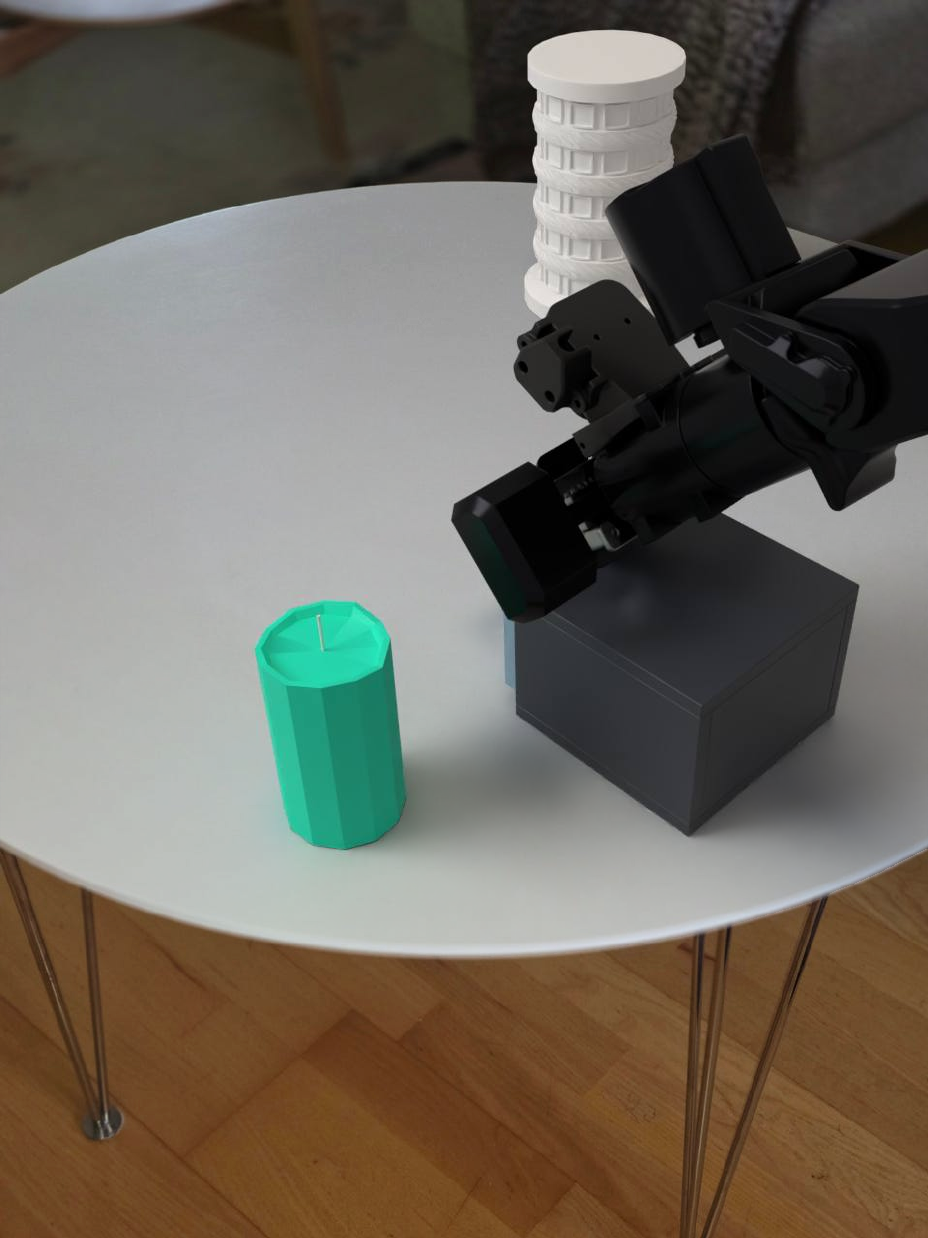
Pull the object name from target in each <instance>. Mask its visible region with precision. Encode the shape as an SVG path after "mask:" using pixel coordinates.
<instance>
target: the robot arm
mask: <svg viewBox="0 0 928 1238" xmlns="http://www.w3.org/2000/svg"><path fill="white" fill-rule="evenodd" d="M604 212H605V215H606V217H607V219H608V221H609V223H610V226H611V228H612V230H613V232H614V234H615V236H616V238H617V240H618V242H619V244H620V246H621V248H622V250H623V252H624V254H625V256H626V258H627V261H628V263H629V265H630V267H631V269H632V271H633V273H634V275H635V277H636V279H637V281H638V283H639V285H640V287H641V289H642V291H643V293H644V296H645V298H646V300H647V302H648V304H649V306H650V308H651V310H652V312H653V314H654V316H655V317H654V316H653V315H652V314H651V313H650V312H649V311H648V310H647V308H646V307H645V306H644V305H643V304H642V303H641V302H640V301H639V300H638V299H637V298H636V297H635V296H634V295H633V294H632V292H631V291H630V290H629V289H628V288H627V287H626V286H624V285H623V284H621V283H619V282H617V281H615V280H610V279H604V280H600V281H598V282H596V283H594V284H592V285H590V286H588V287H586V288H584V289H582V290H580V291H578V292H576V293H574V294H572V295H570V296H568V297H566V298H564V299H562V300H560V301H558V302H556V303H555V304H553V305H552V306H551V307H550V309H549V311H548V313H547V315H546V317H545V318H543V319H541V318H540V319H539V320H537V321H535V322H534V324H533V326H532V328H531V329H530V330H528V331H526V332H524V333H522V334H520V335H518V337H517V338H516V345H517V348H518V351H519V353H518V354H517V357H516V359H515V360H514V362H513V373H514V377H515V380H516V381H517V382H518V383H519V384H520V385H521V387H522V388H523V389H524V390H525V391H526V392H527V394H529V396H530V397H531V398H532V399H533V400H534V401H535V403H536V404H537V405H538V406H539V407H540V408H541V409H542V410H543V411H545V412H546V413H552V414H554V413H556V412H558V411H560V410H561V409H564V408H567V409H571V411H572V412H573V413H574V414H575V415H577V416H578V417H580V419H583V420H586V421H587V422H588V424H587V425H585V426H583V427H582V428H580V429H578V430H576V431H575V432H573V433H571V436H572V437H571V438H569V439H567V440H565V441H564V442H562V443H560V444H559V445H557V446H555V447H553V448H552V449H550V450H547V452H544V453H543V454H542V455H540V456H539V457H538V459H537V461H536V463H535V464H534V463H533V462H531V461H529V460H527V461H526V462H524V463H522V464H520V465H519V466H517V467H515V468H514V469H512V470H510V471H509V472H507V473H505V474H503V475H501V476H500V477H498V478H496V479H494V480H492V481H491V482H489V483H488V484H486V485H484V486H482V487H480V488H479V489H477V490H475V491H474V492H472V493H470V494H469V495H467V496H465V497H462V498H461V499H460V500H458V501H456V502H455V503H453V506H452V511H451V512H452V513H451V518H450V522H451V523H452V525H453V526H454V529H455V530H456V532H457V534H458V535H459V537H460V539H461V540H462V542H463V544H464V546H465V548H466V549H467V551H468V553H469V554H470V556H471V558H472V560H473V561H474V564H475V565H476V567H477V569H478V571H479V572H480V574H481V577H483V579H484V581H485V583H486V584H487V586H488V588H489V590H490V591H491V593H492V595H493V597H494V598H495V600H496V602H497V603H498V606H499V607H500V608H501V611H502V613H503V612H504V614H505V616H506V618H507V619H508V620H510V621H513V622H516V623H520V624H526V623H528V622H531V621H534V620H537V619H539V618H542V617H544V616H546V615H547V614H549V613H551V612H552V611H554V610H555V609H557V608H558V607H560V606H561V605H563V604H564V603H566V602H567V601H569V600H570V599H572V598H573V597H575V596H576V595H578V594H579V593H581V592H582V591H584V590H585V589H587V588H588V587H590V586H591V585H593V584H594V583H596V580H597V569H600V568H604V567H605V566H607V565H608V564H610V563H612V562H613V561H615V560H616V559H618V558H619V557H621V556H622V555H624V554H625V553H627V552H628V551H630V550H631V549H633V548H634V547H636V543H635V541H634V539H635V538H636V537H638V536H639V538H640V540H641V542H642V544H643V545H647V544H649V543H652V542H654V541H657V540H658V539H660V538H661V537H663V536H664V535H666V534H667V533H669V532H670V531H672V530H673V529H675V528H676V527H678V526H679V525H681V524H682V523H684V522H685V521H686V520H688V519H691V518H693V517H696V518H697V520H698V522H699V523H702V522H704V521H706V520H709V519H711V518H714V517H715V516H717V515H718V514H720V513H723V512H724V511H726V510H727V509H729V508H730V507H732V506H734V505H735V504H736V503H738V502H740V501H741V500H742V499H744V498H745V497H747V496H750V495H752V494H754V493H756V492H759V491H762V489H766V488H768V487H771V486H772V485H775V484H778V483H780V482H783V481H786V480H788V479H790V478H792V477H795V476H797V475H800V474H802V473H805V472H808V471H810V470H811V472H812V474H813V476H814V479H815V481H816V482H817V485H818V487H819V489H820V491H821V493H822V495H823V497H824V499H825V502H826V503H827V506H828V508H829V509H831V510H832V511H834V512H841V511H844V510H845V509H847V508H849V507H850V506H852V505H853V504H855V503H857V502H858V501H860V500H862V499H864V498H865V497H867V496H869V495H871V494H872V493H874V492H875V491H877V490H879V489H881V488H883V487H884V486H886V485H888V484H890V483H891V482H893V480H894V479H895V476H896V467H897V455H896V450H897V447H898V446H899V444H903V443H906V442H910V441H912V440H915V439H919V438H922V437H925V436H928V248H926V249H923V250H921V251H919V252H917V253H915V254H913V255H908V254H904V253H900V252H898V251H893V250H890V249H886V248H882V247H879V246H875V245H872V244H868V243H864V242H860V241H857V240H853V239H847V240H845V241H842V242H840V243H838V244H835V245H833V246H830V247H828V248H826V249H824V250H822V251H820V252H817V253H815V254H813V255H810V256H809V257H806V258H804V259H802V257H801V254H800V253H799V250H798V248H797V246H796V244H795V241H794V240H793V238H792V236H791V234H790V231H789V230H788V227H787V225H786V223H785V221H784V219H783V217H782V214H781V213H780V211H779V208H778V207H777V204H776V202H775V200H774V198H773V196H772V194H771V192H770V190H769V187H768V185H767V182H766V181H765V177H764V172H763V170H762V165H761V163H760V160H759V158H758V156H757V154H756V152H755V149H754V147H753V145H752V143H751V141H750V138H749V137H748V135H746V134H745V133H742V132H741V133H738V134H736V135H733V136H730V137H727V138H724V139H722V140H720V141H717V142H713V143H711V144H709V145H706V146H705V147H704V148H703V149H701V150H700V151H699V152H698V153H696V154H695V155H694V156H692V157H691V158H689V159H687V160H685V161H683V162H681V163H679V164H677V165H675V166H673V168H671V169H669V170H668V171H666V172H664V173H662V174H661V175H659V176H657V177H655V178H654V179H652V180H650V181H649V182H646V183H643V184H641V185H638V186H636V187H633V188H630V189H628V190H626V191H625V192H623V193H622V194H620V195H619V196H618V197H617V198H615V199H614V200H613V201H612V202H611V203H610V204H609V205H608V206H607V208H606V209H605V211H604ZM691 336H692V339H693V341H694V343H695V345H696V347H697V349H702V348H705V347H707V346H710V345H712V344H714V343H716V342H718V341H720V343H721V344H722V346H723V347H722V348H721V349H720V350H717V351H716V352H713V353H712V354H709V355H708V356H706V357H704V358H702V359H700V360H698V361H697V362H695V363H693V364H692V365H690V364H689V362H688V361H687V360H686V358H685V357H684V356H683V355H682V353H681V352H680V350H679V349H678V348H677V347H676V344H678V343H680V342H682V341H685V340H686V339H688V338H690V337H691ZM683 521H684V522H683ZM681 522H682V523H681Z"/></svg>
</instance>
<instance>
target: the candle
mask: <svg viewBox="0 0 928 1238" xmlns="http://www.w3.org/2000/svg"><path fill="white" fill-rule="evenodd" d="M253 650H254V654H255V659H256V665H257V670H258V671H257V672H258V676H259V682H260V686H261V692H262V697H263V702H264V708H265V713H266V714H265V715H266V719H267V724H268V729H269V730H268V731H269V735H270V740H271V745H272V750H273V756H274V761H275V766H276V772H277V778H278V783H279V787H280V793H281V799H282V804H283V808H284V811H285V814H286V815H285V816H286V819H287V821H288V824H289V828H290V830H291V831H292V832H294V833H295V834H296V835H298V836H300V837H301V838H302V839H304V840H305V841H306V842H308V843H309V844H310V845H312V846H315V847H323V848H331V849H338V850H348V849H353V848H356V847H358V846H363V845H366V844H369V843H372V842H377V841H378V840H379V839H380V838H382V837H383V836H385V834H386V833H387V832H389V831H390V830H391V829H392V828H393V827H394V826H396V825H397V823H399V822H400V818H401V816H402V813H403V809H404V807H405V803H406V800H407V792H406V781H405V771H404V761H403V759H404V758H403V751H402V740H401V730H400V721H399V711H398V710H399V709H398V699H397V690H396V679H395V669H394V658H393V649H392V640H391V636H390V634H389V633H388V631H387V629H386V627H385V625H384V624H383V621H382V620H381V619H379V618H378V617H377V616H375V615H374V614H373V613H371V612H370V611H369V610H368V609H367V608H366V607H364V606H363V605H362V604H360V603H359V602H357V601H351V600H349V601H348V600H331V599H330V600H327V599H323V600H319V601H315V602H312V603H311V602H310V603H308V604H303V605H300V606H296V607H292V608H289V609H288V610H287V611H286V612H285V613H283V614H282V615H281V616H279V617H278V618H277V619H276V620H274V621H273V622H272V623H270V624H269V625H268V626H266V627H265V628H264V631H263V632H262V634H261V636H260V638H259V640H258V641H257V643H256V645H255V647H254V649H253Z"/></svg>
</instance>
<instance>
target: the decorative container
mask: <svg viewBox="0 0 928 1238" xmlns="http://www.w3.org/2000/svg"><path fill="white" fill-rule="evenodd" d="M686 65H687V56H686V51H685V50H684V49H683V47H681V46H680V45H679V44H678V43H677V42H675V41H672V40H670V39H668V38H666V37H663V36H659V35H655V34H652V33H648V32H647V33H646V32H642V31H641V32H640V31H633V30H619V29H602V30H601V29H600V30H599V29H598V30H585V31H578V32H576V31H575V32H570V33H566V34H562V35H557V36H554V37H552V38H551V37H550V38H549V39H546V40H543V41H541V42H540V43H538V44H536V45H535V46H533V47H532V48H531V50H530V51H529V52H528V53H527V82H529V84H530V85H531V86H532V88H534V89H536V101H535V102H534V106H533V110H532V115H531V116H532V117H531V118H532V123H533V125H534V131H535V132H536V145H535V146H534V151H533V154H532V166H533V169H534V174H535V176H536V179H537V180H536V181H537V182H536V184H537V185H536V186H537V187H536V188H535V189H534V194H533V198H532V209H533V212H534V216H535V218H536V219H537V227H536V229H535V231H534V236H533V239H532V248H533V251H534V256H535V258H536V260H537V261H536V262H535V263H534V264H533V265H531V266H530V267H529V268H528V270H527V272H526V273H525V275H524V302H525V304H526V305H527V307H528V309H529V311H530V312H532V313H533V314H535V315H536V316H537V317H538V318H539V319H540V320H541V319H543V318H545V317H546V315H547V313H548V311H549V309H550V307H551V306H552V305H553V304H555V303H556V302H558V301H560V300H562V299H564V298H566V297H568V296H570V295H572V294H574V293H576V292H578V291H580V290H582V289H584V288H586V287H588V286H590V285H592V284H594V283H596V282H598V281H600V280H604V279H610V280H615V281H617V282H619V283H621V284H623V285H624V286H626V287H627V288H628V289H629V290H630V291H631V292H632V294H633V295H634V296H635V297H636V298H637V299H638V300H639V301H640V302H641V303H642V304H643V305H644V306H645V307H646V308H647V310H648V311H649V312H650V313H651V314H652V315H653V316H654V314H653V312H652V310H651V308H650V306H649V304H648V302H647V300H646V298H645V296H644V293H643V291H642V289H641V287H640V285H639V283H638V281H637V279H636V277H635V275H634V273H633V271H632V269H631V267H630V265H629V263H628V261H627V258H626V256H625V254H624V252H623V250H622V248H621V246H620V244H619V242H618V240H617V238H616V236H615V234H614V232H613V230H612V228H611V226H610V223H609V221H608V219H607V217H606V215H605V212H604V211H605V209H606V208H607V206H608V205H609V204H610V203H611V202H612V201H613V200H614V199H615V198H617V197H618V196H619V195H620V194H622V193H623V192H625V191H626V190H628V189H630V188H633V187H636V186H638V185H641V184H643V183H646V182H649V181H650V180H652V179H654V178H655V177H657V176H659V175H661V174H662V173H664V172H666V171H668V170H669V169H671V168H673V167H674V164H675V161H674V159H675V155H674V149H673V144H672V143H671V137H672V136H671V135H672V134H673V131H674V129H675V127H676V122H677V119H678V116H677V114H678V111H677V106H676V101H675V99H674V90H675V89H676V88H677V87H679V86H680V85H681V84H682V83H683V81H684V79H685V77H686ZM654 317H655V316H654Z"/></svg>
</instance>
